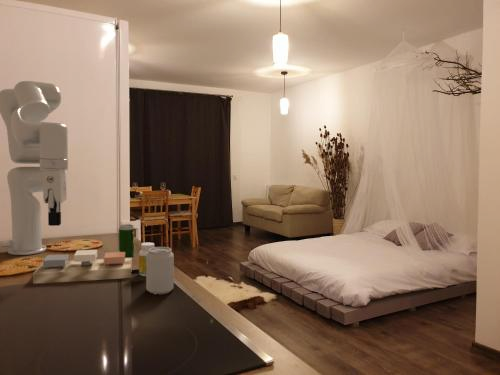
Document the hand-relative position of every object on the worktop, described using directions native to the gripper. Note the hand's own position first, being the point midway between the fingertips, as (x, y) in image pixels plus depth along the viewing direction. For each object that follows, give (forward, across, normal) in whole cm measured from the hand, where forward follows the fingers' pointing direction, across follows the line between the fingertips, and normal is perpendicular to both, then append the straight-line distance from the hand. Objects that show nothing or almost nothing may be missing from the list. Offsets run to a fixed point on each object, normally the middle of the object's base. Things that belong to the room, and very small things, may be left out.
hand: (54, 224), depth 120 cm
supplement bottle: (+16, -4, -28) cm, 32 cm away
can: (+15, -20, -30) cm, 39 cm away
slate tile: (+14, -1, 0) cm, 14 cm away
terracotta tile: (+13, -1, -17) cm, 22 cm away
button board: (+16, -1, -9) cm, 18 cm away
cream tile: (+12, -1, -9) cm, 15 cm away
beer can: (+16, +15, -20) cm, 30 cm away
